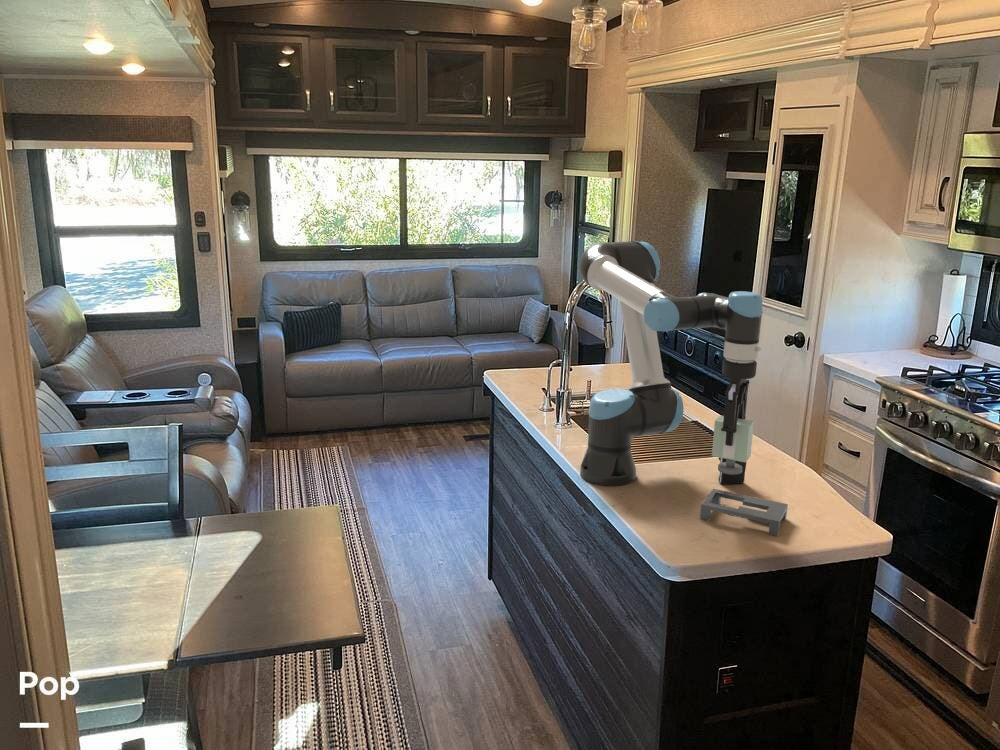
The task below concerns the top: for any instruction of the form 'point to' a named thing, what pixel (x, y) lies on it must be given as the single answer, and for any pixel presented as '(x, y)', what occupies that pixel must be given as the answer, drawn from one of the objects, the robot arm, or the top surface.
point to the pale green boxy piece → (742, 445)
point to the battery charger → (732, 478)
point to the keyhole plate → (746, 509)
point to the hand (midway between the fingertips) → (731, 453)
